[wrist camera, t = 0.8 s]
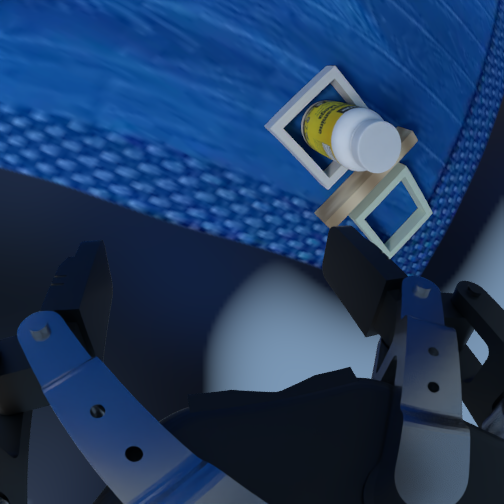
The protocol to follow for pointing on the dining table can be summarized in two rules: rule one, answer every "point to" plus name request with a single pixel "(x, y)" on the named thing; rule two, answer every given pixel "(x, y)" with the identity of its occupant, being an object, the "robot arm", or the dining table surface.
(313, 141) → the pill bottle
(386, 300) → the robot arm
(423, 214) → the keeper
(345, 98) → the keeper
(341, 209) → the edge strip
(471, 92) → the dining table surface
